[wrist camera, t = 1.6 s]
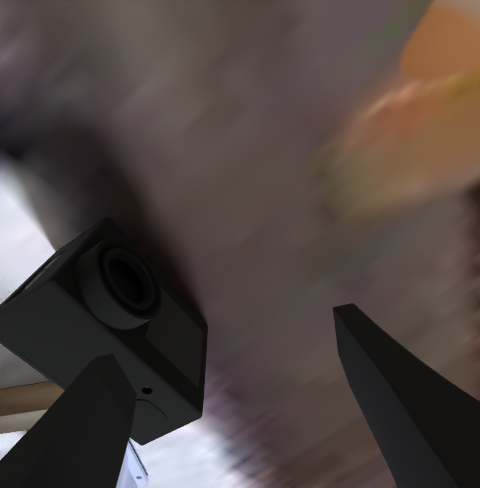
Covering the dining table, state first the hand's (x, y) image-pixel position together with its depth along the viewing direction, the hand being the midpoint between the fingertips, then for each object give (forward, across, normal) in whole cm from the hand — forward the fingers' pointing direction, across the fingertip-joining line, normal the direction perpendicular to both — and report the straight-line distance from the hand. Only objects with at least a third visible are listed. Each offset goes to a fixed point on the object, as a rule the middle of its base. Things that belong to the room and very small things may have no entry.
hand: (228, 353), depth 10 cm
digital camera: (+10, +6, +3) cm, 12 cm away
